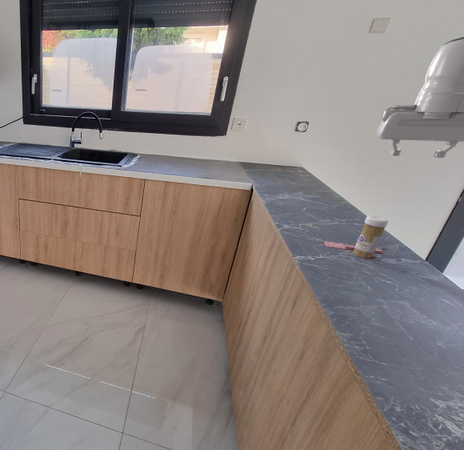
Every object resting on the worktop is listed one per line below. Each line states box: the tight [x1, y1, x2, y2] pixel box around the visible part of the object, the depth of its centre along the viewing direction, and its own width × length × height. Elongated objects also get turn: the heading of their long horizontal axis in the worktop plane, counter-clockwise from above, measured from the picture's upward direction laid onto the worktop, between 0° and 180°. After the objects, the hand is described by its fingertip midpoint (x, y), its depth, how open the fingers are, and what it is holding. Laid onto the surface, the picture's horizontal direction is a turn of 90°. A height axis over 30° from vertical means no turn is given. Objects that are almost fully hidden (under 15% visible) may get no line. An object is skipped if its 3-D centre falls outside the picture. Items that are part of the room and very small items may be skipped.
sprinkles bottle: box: [352, 215, 389, 259], centre depth 91 cm, size 5×5×14 cm
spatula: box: [323, 241, 383, 255], centre depth 99 cm, size 14×4×1 cm, turn 65°
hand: (415, 156), depth 89 cm, fingers open, 8 cm apart
